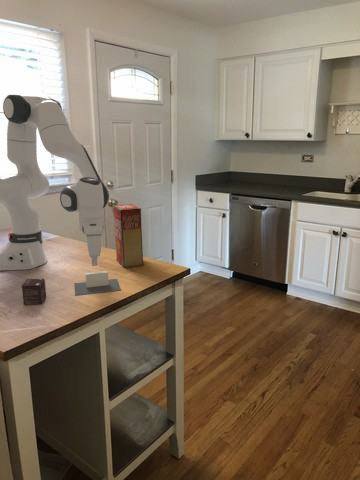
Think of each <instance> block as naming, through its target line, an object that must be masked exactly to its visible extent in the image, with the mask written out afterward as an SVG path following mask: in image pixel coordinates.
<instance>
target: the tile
mask: <svg viewBox="0 0 360 480" xmlns="http://www.w3.org/2000/svg"><path fill="white" fill-rule="evenodd" d="M84 275H85V282H86V287H96V286H106V285H109V281H108V280H109V271H108V270H103V271H94V272H93V271H92V272H85V274H84Z"/></svg>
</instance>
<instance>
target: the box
mask: <svg viewBox="0 0 360 480" xmlns="http://www.w3.org/2000/svg"><path fill="white" fill-rule="evenodd" d="M21 289H22V290H21V291H22V293H21V294H22V299H23V301H22V302H23V306H37V305H38V306H39V305H41V306H43V304H44V303H45V301H46V299H47V292H46V291H47V289H46V280H45V278H28V279H26V280H24V282H23V283H22V285H21Z"/></svg>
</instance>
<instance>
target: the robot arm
mask: <svg viewBox="0 0 360 480" xmlns="http://www.w3.org/2000/svg"><path fill="white" fill-rule="evenodd" d="M2 110H3V115H4V116H5V118H6V119H7V120H8V121H7V129H6V130H7V133H6V153H7V154H6V155H7V159H8V160H9V161H10V163H12V164H14V165H15V167H16V168H17V173H16V174H15V173H14V174H6V175H2V176H0V202H1V203H2V204H3V205H4V206H5V208H6V209H7V211H8V213H9V216H10V220H11V227H12V231H9V232H8V242H7V243H6V244H5V245H4V246H2V248H1V249H0V271H19V270H20V271H21V270H31V269H34V268H36V267H39V266H42V265H45V264H46V263H48V258H47V257H46V253H45V249H44V246H43V242H44V241H43V240H44V239H43V237H44V236H43V232H42V229H41V224H40V222H41V221H40V213H38V211H36V210H35V209H34V208H31V206H30V204H29V200H31V199H36V198H39V197H40V198H41V196H44V195H46V194H47V193H48V192H49V189H50V181H49V179H48V177H47V176H46V175H45V174H44V173H43V172H42V171H41V169H40V167H39V162H38V154H37V153H38V152H37V149H38V148H37V131H38V134H39V136H40V137H39V138H40V140H41V143H42V146H43V147H44V149H45V150H46V151H47V152H48V153H49V154H51V155H53V156H55V157H59V158H61V159H65V160H67V161H70V162H72V163H73V164H74V165H76V166H77V168H78V170H79V171H80V173H81V175H82V177H80V178H79V179H78V181H77V182H76V183H74V184H71V185H68V186H64V188H62V190H61V192H60V195H59V201H60V205H61V207H62V208H63V209H64V211H66V212H68V213H69V212H70V213H76V212H77V213H78V226H79V227H78V229H79V231H81V232H82V234H83V235H84V237H85V240H86V244H87V245H86V246H87V252H88V255H89V257H90V259H91V266H92V267H96V266H98V257H101V252H102V240H103V239H102V238H103V237H102V235H103V234H104V230H105V227H106V223H105V222H106V221H105V220H106V219H105V212H104V208H105V207H106V206H107V204H108V202H109V200H110V193H109V191H108V188H107V187H106V185H105V184H104V182H103V181H102V179H101V178H100V176H99V173H98V171H97V169H96V167H95V165H94V162H93V161H92V158H91V156H90V154H89V153H88V151H87V150H86V148H85V146H84V145H83V144H82V143H80V142H79V141H78V140H77V138H76V137H75V136H74V134H73V132H72V130H71V128H70V125H69V122H68V119H67V117H66V115H65V113H64V111H63V107H62V105H61V103H60V101H59V100H57V99H55V98H53V97H50V96H43V95H39V94H38V95H37V94H20V93H12V94H8V95H6V97H5V98H4V100H3V102H2Z"/></svg>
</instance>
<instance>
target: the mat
mask: <svg viewBox="0 0 360 480" xmlns="http://www.w3.org/2000/svg"><path fill="white" fill-rule="evenodd" d="M108 281H109V285H106V286H96V287H86V281H82V282H74V294H75V295H74V296H75V297H76V296H85V295H93V294H102V293H110V292H111V293H112V292H120V291H122V289H121V286H120V283H119V281H118V278H111V279H108Z"/></svg>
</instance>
